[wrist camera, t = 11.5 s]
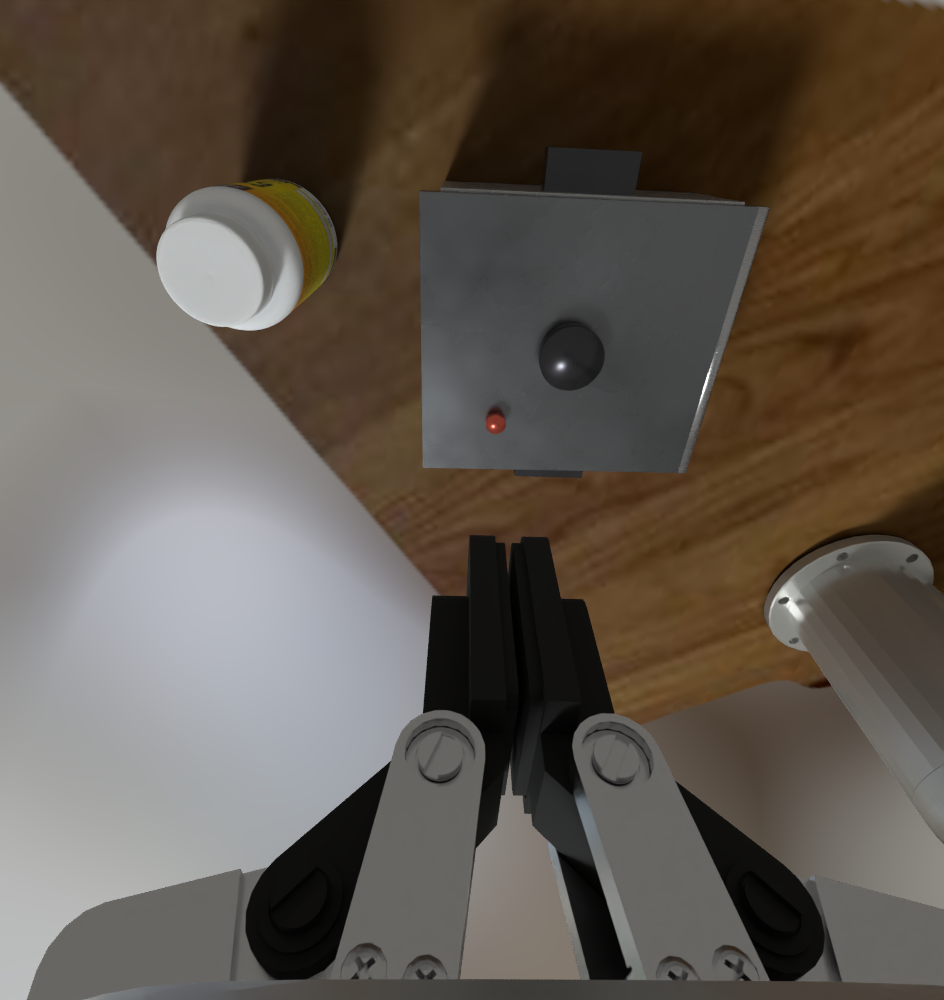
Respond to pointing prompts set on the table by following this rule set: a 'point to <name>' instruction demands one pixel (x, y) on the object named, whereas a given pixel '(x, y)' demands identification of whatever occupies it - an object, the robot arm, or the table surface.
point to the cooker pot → (585, 179)
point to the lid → (574, 327)
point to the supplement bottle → (246, 252)
